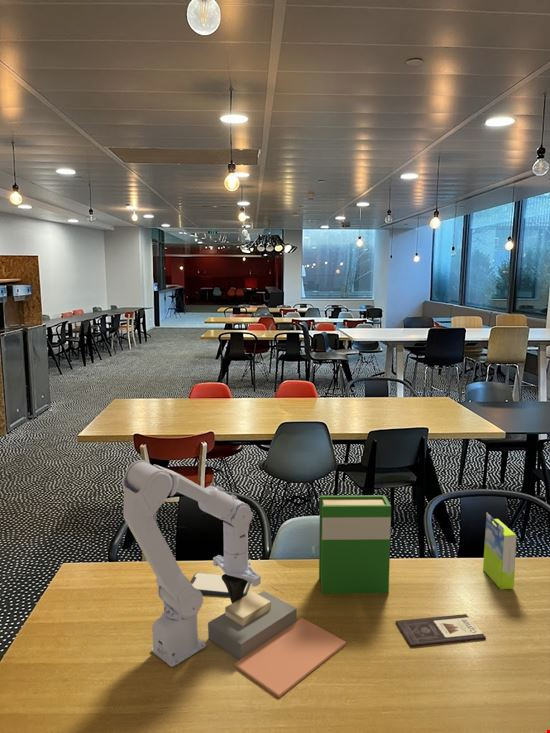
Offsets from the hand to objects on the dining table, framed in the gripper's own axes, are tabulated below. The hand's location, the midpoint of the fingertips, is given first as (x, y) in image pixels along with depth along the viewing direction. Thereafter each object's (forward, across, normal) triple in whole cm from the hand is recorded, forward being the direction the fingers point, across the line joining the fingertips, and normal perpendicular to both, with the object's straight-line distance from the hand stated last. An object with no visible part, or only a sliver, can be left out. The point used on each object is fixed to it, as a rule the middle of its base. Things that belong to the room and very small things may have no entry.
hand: (236, 602), depth 128 cm
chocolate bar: (+5, -37, -30) cm, 48 cm away
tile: (0, -4, 0) cm, 4 cm away
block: (+5, -6, 0) cm, 7 cm away
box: (+5, -39, -62) cm, 73 cm away
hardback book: (+5, -11, -32) cm, 34 cm away
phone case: (+5, +15, -7) cm, 17 cm away
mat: (+5, -18, 0) cm, 18 cm away
